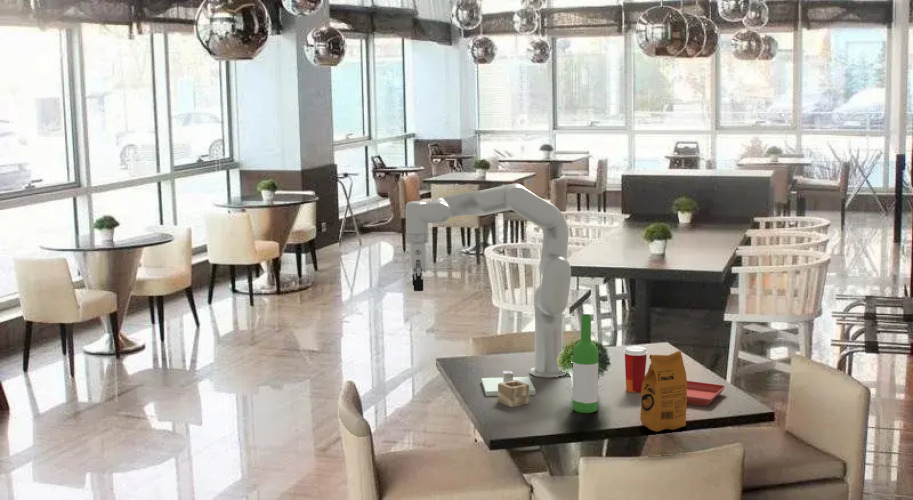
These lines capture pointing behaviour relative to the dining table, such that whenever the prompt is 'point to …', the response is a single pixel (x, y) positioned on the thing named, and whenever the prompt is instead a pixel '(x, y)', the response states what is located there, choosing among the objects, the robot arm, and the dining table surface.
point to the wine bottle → (585, 370)
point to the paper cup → (635, 368)
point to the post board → (492, 383)
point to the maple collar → (513, 393)
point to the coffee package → (664, 393)
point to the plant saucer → (702, 392)
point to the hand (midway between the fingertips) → (417, 288)
